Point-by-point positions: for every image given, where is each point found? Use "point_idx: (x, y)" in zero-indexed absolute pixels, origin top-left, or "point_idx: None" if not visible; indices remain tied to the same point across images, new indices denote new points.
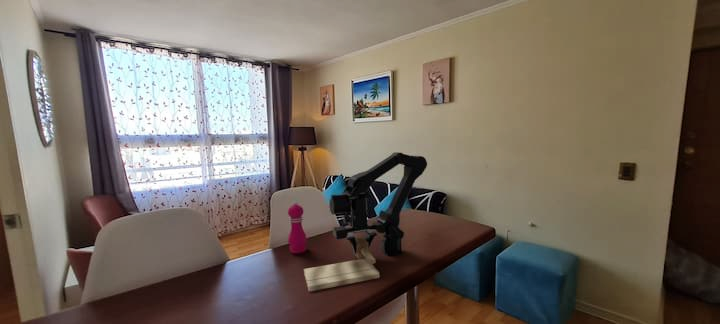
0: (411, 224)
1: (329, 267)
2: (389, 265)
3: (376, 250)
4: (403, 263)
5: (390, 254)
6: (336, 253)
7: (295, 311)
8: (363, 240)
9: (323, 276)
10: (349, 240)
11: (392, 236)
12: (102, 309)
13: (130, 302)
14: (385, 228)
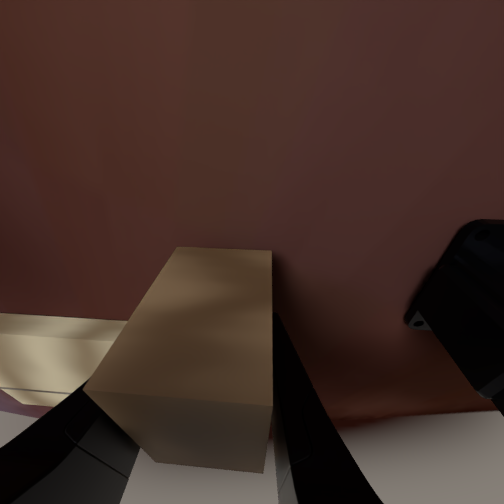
0: None
1: (45, 354)
2: (330, 375)
3: (418, 205)
4: (396, 382)
5: (423, 328)
6: (9, 102)
7: (41, 413)
8: (233, 450)
9: (47, 386)
10: (41, 428)
11: None
12: None
13: None
14: None
